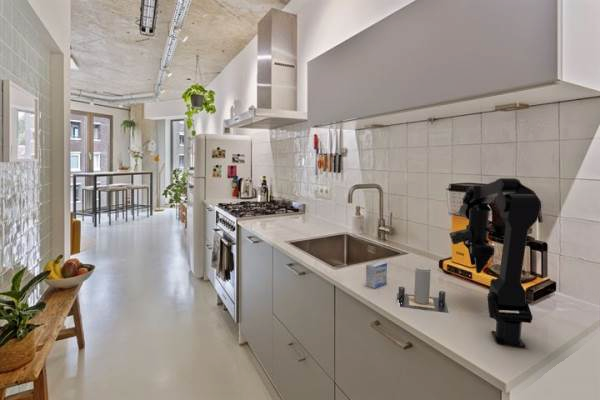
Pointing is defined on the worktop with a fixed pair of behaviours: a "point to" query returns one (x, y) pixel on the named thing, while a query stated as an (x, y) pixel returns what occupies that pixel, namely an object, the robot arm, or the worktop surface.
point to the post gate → (432, 305)
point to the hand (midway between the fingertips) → (475, 268)
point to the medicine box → (376, 274)
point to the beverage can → (422, 284)
